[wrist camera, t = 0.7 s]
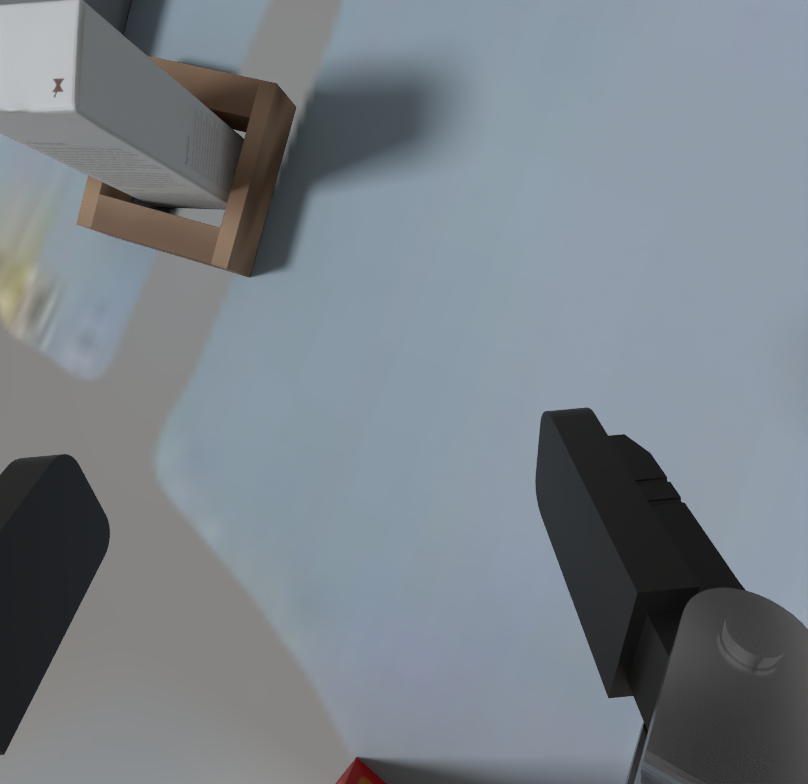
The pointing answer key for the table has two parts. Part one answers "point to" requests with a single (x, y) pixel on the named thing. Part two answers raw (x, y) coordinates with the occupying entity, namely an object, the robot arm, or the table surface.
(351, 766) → the baking soda box
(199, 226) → the socket block
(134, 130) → the skincare box
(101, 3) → the tray
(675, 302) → the table surface
